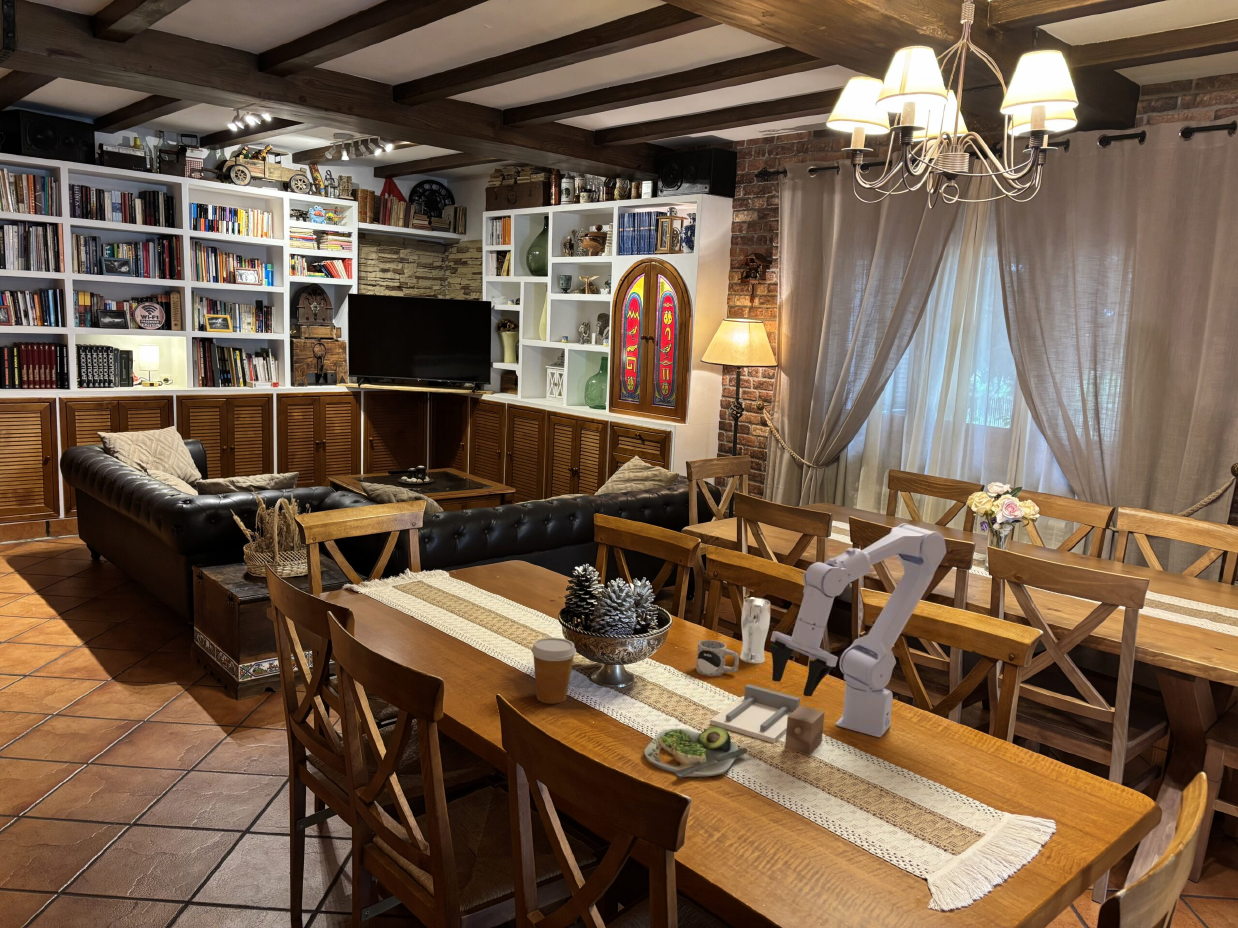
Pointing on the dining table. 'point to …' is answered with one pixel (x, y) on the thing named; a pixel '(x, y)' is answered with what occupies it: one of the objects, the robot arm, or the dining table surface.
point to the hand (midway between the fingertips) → (791, 688)
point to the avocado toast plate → (695, 751)
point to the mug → (714, 658)
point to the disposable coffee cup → (552, 668)
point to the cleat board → (758, 713)
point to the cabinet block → (804, 730)
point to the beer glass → (754, 629)
